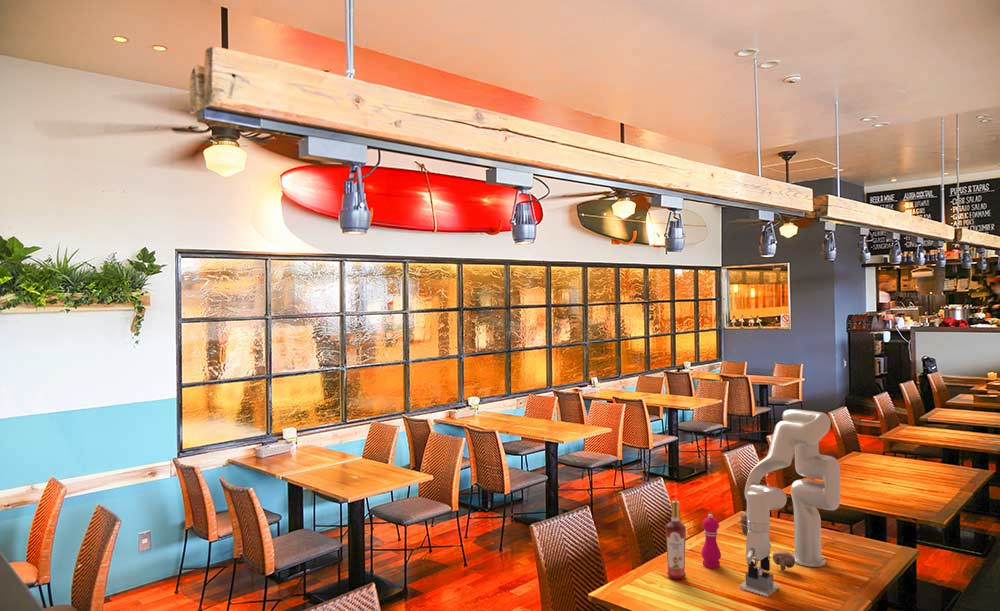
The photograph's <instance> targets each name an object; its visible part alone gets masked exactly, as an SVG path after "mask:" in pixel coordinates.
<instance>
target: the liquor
mask: <svg viewBox="0 0 1000 611" xmlns="http://www.w3.org/2000/svg"><path fill="white" fill-rule="evenodd" d="M670 504H671V509H672V510H671V521H669V522H668V523H666V524H665V541H666V542H665V543H666V554H667V571H666V575H667V576H668V577H669V578H670V579H671V578H672V580H675V581H679V580H682V579H684V578H685V577H686V576H687V573H686V572H685V570H686V569H685V567H686V566H685V562H686V557H685V556H686V534H687V533H686V530H687V529H686V528H687V527H686V525H684V524H683V523H682V522H680V513H679V509H680V501H678V500H671V503H670Z"/></svg>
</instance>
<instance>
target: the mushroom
mask: <svg viewBox="0 0 1000 611" xmlns="http://www.w3.org/2000/svg"><path fill="white" fill-rule="evenodd" d="M792 554H793V553H791V552H789V551H786V550H776V551H774V552H773V554H772V559H773V560H772V561H773V562H774V564H776V565H777V566H779V567H780V568H779V569H780V571H781V572H784V571H785V570H786V568H788V569H791V568H793V567H794V566H795V565H796V563H795V558H794V557H793V555H792Z"/></svg>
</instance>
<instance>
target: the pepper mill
mask: <svg viewBox="0 0 1000 611" xmlns="http://www.w3.org/2000/svg"><path fill="white" fill-rule="evenodd" d="M702 527H703V529H704V530H703V534H704V535H705V536H704V537H705V540H704V543H703V546H702V548H701V557H702V558H703V559H702V566H704V567H705V568H707V569H710V570H711V569H714V570H715V569H719V568H720V566H721V563H720V559H721V557H722V552H721V549H720V547H719V545H718V542H717V536H718V530H719V527H720V525H719V522H718V520H717V519H716V518H714V516H713V514H712V513H709V514H708V515H707V517H705V518H704V519H703V521H702Z"/></svg>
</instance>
